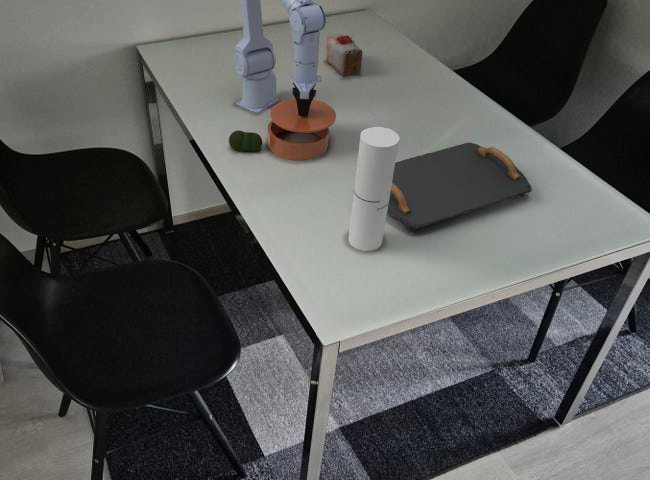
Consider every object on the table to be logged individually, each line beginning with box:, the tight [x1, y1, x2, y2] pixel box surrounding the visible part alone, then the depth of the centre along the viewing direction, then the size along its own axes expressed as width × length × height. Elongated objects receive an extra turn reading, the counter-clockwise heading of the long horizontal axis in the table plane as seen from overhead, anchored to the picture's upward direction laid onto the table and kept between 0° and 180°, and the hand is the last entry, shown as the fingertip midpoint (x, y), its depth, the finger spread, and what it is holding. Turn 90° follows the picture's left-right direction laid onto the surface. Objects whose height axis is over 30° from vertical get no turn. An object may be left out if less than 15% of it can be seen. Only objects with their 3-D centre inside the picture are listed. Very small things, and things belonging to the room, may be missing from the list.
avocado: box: [228, 130, 263, 152], centre depth 158 cm, size 8×5×5 cm, turn 88°
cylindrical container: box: [348, 126, 400, 252], centre depth 127 cm, size 7×7×25 cm
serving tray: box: [387, 142, 533, 233], centre depth 147 cm, size 39×23×6 cm, turn 117°
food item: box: [325, 33, 363, 78], centre depth 192 cm, size 14×8×10 cm, turn 23°
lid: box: [269, 97, 337, 134], centre depth 156 cm, size 16×16×5 cm
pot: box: [267, 120, 330, 162], centre depth 160 cm, size 15×15×5 cm
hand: (303, 112), depth 157 cm, fingers closed on lid, 2 cm apart
